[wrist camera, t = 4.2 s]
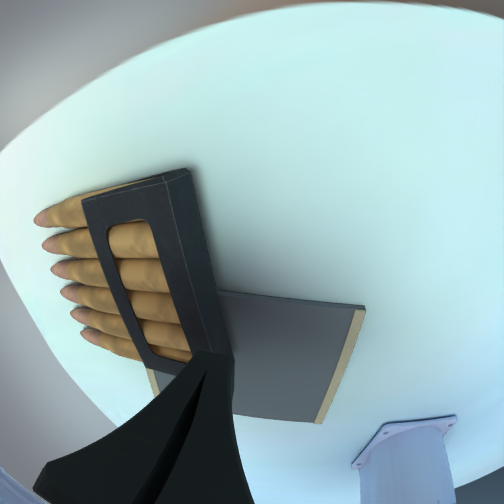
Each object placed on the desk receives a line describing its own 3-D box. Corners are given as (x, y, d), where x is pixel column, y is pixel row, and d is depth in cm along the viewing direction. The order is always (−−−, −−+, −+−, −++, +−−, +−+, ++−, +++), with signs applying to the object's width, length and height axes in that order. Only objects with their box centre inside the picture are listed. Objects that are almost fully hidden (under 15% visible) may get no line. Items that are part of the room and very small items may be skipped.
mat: (321, 418, 19) (321, 424, 19) (157, 393, 20) (154, 397, 20) (364, 305, 14) (366, 311, 14) (128, 276, 16) (124, 280, 15)
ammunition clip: (189, 166, 11) (40, 202, 15) (165, 175, 10) (19, 212, 13) (235, 363, 15) (93, 335, 19) (224, 388, 14) (78, 349, 18)
